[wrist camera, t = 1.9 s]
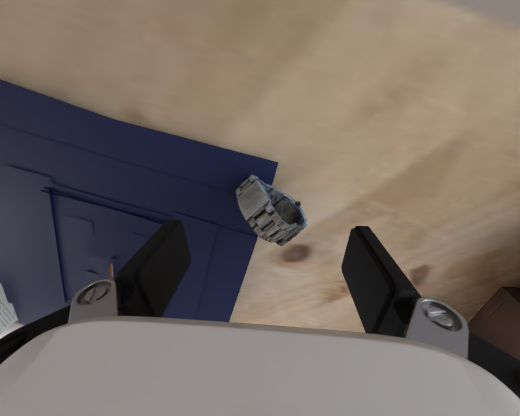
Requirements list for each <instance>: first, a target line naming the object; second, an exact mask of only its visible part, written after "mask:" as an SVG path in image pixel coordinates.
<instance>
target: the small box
mask: <svg viewBox="0 0 520 416" xmlns="http://www.w3.org/2000/svg"><path fill="white" fill-rule="evenodd" d="M17 320H18V318H17V315H16V313H15V310H14V307H13V304H11V303H8V301H7V298H6V296H5V293H4V290H3V287H2V284H1V283H0V334H1V333H2V332H4V331H5V330H6V329H7V328H8V327H9V326H11V325H12V324H13V323H14V322H15V321H17Z"/></svg>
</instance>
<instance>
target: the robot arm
mask: <svg viewBox="0 0 520 416" xmlns="http://www.w3.org/2000/svg"><path fill="white" fill-rule="evenodd" d="M190 264H191V255H190V251H189V246H188V242H187V238H186V234H185V230H184V226H183V223H181V222H180V221H179V220H167V221H166V222H165V223H164V224H163V225H162V226H161V227H160V228H159V229H158V230H157V231H156V232H155V233H154V234H153V235H152V236H151V238H150V239H149V240H148V241H147V242H146V243H145V244H144V245H143V246H142V247H141V248H140V249H139V250H138V251H137V252H136V253H135V254H134V255H133V256H132V257H131V259H130V260H129V261H128V262H127V263H126V264H125V265H124V266H123V267H122V268H121V269H120V270H119V271H118V272H117V273H116V275H117V277H116V278H115V279H114V280H113V279H111V278H102V279H99V280H95V281H93V282H91V283H89V284H87V285H86V286H84V287H83V288H81V289H80V290H79V291H78V292H77V293H76V294H75V296H74V297H73V299H72V302H71V305H69V306H67V307H64V308H62V309H60V310H58V311H56V312H53V313H51V314H49V315H47V316H45V317H42V318H40V319H38V320H36V321H34V322H31V323H29V324H27V325H25V326H23V327H20V328H18V329H16V330H14V331H12V332H10V333H9V334H7V335H5V336H4V337H2V338H1V339H0V416H520V360H518V359H517V358H515V357H513V356H511V355H510V354H508V353H506V352H504V351H503V350H501V349H499V348H497V347H496V346H494V345H492V344H490V343H489V342H487V341H485V340H483V339H482V338H480V337H478V336H476V335H475V334H473V333H471V332H469V328H468V324H467V322H466V320H465V319H464V317H463V316H462V315H461V314H460V313H459V312H458V311H457V310H455V309H454V308H453V307H451V306H450V305H448V304H446V303H445V302H443V301H440V300H438V299H435V298H431V297H421V296H420V294H419V293H418V292H417V290H416V289H415V288H414V286H413V285H412V284H411V282H410V281H409V280H408V278H407V277H406V276H405V274H404V273H403V272H402V270H401V269H400V268H399V266H398V265H397V264H396V262H395V261H394V260H393V258H392V257H391V256H390V254H389V253H388V252H387V250H386V249H385V248H384V246H383V245H382V244H381V242H380V241H379V240H378V238H377V237H376V236H375V234H374V233H373V232H372V230H371V229H370V228H369V227H368V226H356V227H355V228H354V229H351V232H350V236H349V240H348V244H347V248H346V251H345V255H344V259H343V263H342V273H343V275H344V278H345V280H346V283H347V285H348V288H349V291H350V293H351V296H352V298H353V301H354V303H355V306H356V309H357V311H358V314H359V316H360V319H361V321H362V324H363V327H364V329H365V332H366V333H358V332H348V331H337V330H324V329H312V328H299V327H287V326H274V325H260V324H247V323H233V322H220V321H205V320H191V319H176V318H161V317H162V315H163V314H164V312H165V310H166V308H167V306H168V304H169V302H170V301H171V299H172V297H173V295H174V293H175V291H176V290H177V288H178V286H179V284H180V282H181V280H182V279H183V277H184V275H185V273H186V271H187V269H188V268H189V266H190Z"/></svg>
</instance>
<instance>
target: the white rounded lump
mask: <svg viewBox="0 0 520 416" xmlns="http://www.w3.org/2000/svg"><path fill="white" fill-rule="evenodd" d="M23 326H24V325H23V324H21V323H19V322H16V321H15V322H14V323H13V324H12V325H11V326H9V327H8V328H7V329H6V330H5V331H4V332H2V333H1V334H0V339H1V338H2V337H4V336H5V335H7V334H9V333H10V332H12V331H14V330H16V329H18V328H20V327H23Z"/></svg>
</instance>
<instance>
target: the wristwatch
mask: <svg viewBox="0 0 520 416" xmlns="http://www.w3.org/2000/svg"><path fill="white" fill-rule="evenodd" d="M269 190H270V191H269ZM236 194H237V199H238V206H239V208H240V211H241V213H242V215H243V216H244V218H245V220H246V221H247V222H248V223H249V225H250V226H251V227H252V228H253V230H254V231H255V232H256V234H257V235H258V236H259V237H260V238H261V237H262V239H265V240H266V241H269V242H271V243H272V242H276V243H277V244H278V245H280V246H283V245H284V244H286V243H287V242H288V241H290V240H291V239H292V238H293V237H295V236H296V235H297V234H298V233H300V232H301V231H302V230H303V229H304V228H305V227H306V225H307V224H306V221H307V219H306V217H305V215H304V213H303V211H302V209H301V208H300V206H301V203H300V202H299V201H297V202H295V200H293V199H292V198H291V197H290V196H288V195H286V194H284V193H282V192H281V191H280V190H278V189H276V188H274V187H273V186H271V185H269V184H265V183H264V182H263V181H261V180H259V179H258V177H257V176H255V175H253V174H251V176H250V177H249V178H248V179H247V180H246V181H244V182H243V183H242V184H241V185H240V187H239V188H238V189H237V190H236Z"/></svg>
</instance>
